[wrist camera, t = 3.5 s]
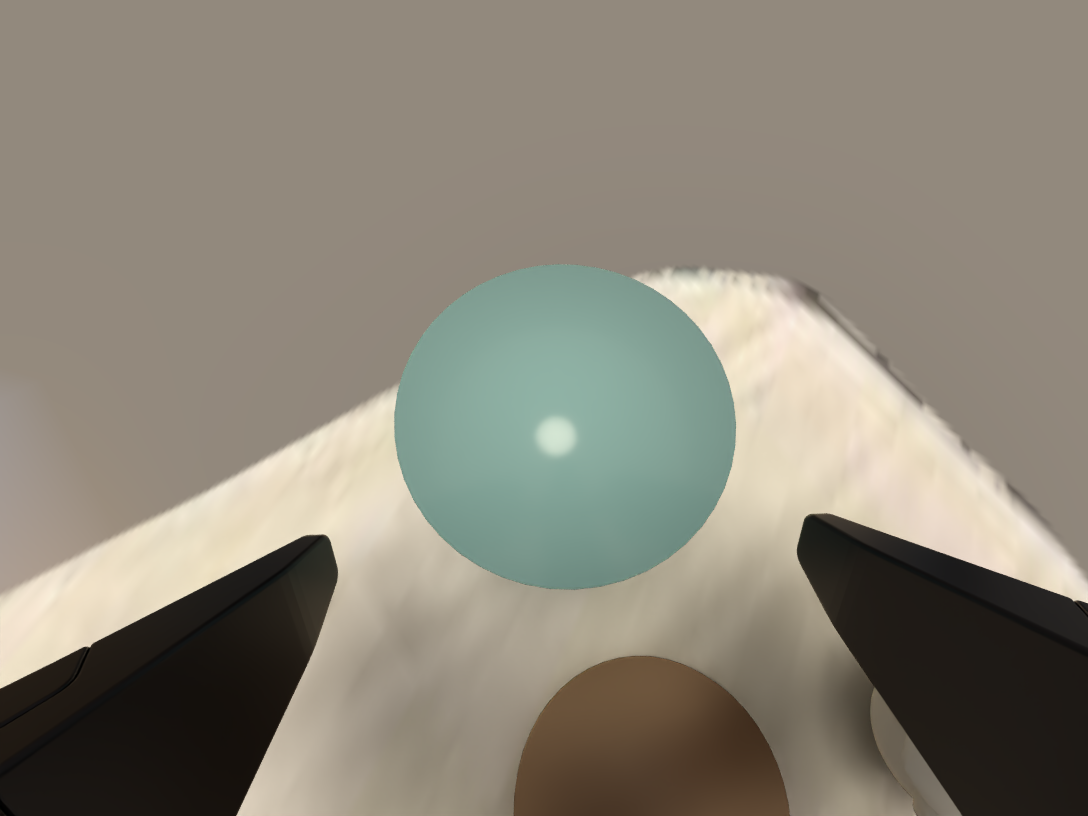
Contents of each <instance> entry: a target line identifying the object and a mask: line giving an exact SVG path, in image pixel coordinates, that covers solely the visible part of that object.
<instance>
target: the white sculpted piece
mask: <svg viewBox="0 0 1088 816" xmlns="http://www.w3.org/2000/svg"><path fill="white" fill-rule="evenodd" d="M870 718H871V725H872V730H873V735H874V738H875V741H876V744H877V747H878V749H879V751H880V753H881V755H882V757H883V759H884V761H885V763H886V765H887V766H888V768H889V770H890V771H891V772H892V774H893V775H894V777H895V778H896V780H897V781H898V782H899V783H900V785H901V786H902V787H903V788H904V789H905V790H906V791H907V793H908V794H909V795H910V796H911V797H912V798H913V807H914V811H915V813H916V815H917V816H962V815H961V813H960V812H959V811H958V809H957V808H956V806H955V805H954V803H953V802H952V800H951V799H950V797H949V796H948V794H947V793H946V791H945V790H944V788H943V787H942V785H941V784H940V782H939V781H938V780H937V778H936V777H935V775H934V774H933V772H932V771H931V769H930V768H929V766H928V765H927V763H926V762H925V760H924V759H923V757H922V756H921V754H920V753H919V752H918V750H917V749H916V747H915V746H914V744H913V743H912V741H911V740H910V738H909V737H908V735H907V734H906V732H905V731H904V729H903V728H902V726H901V725H900V724H899V722H898V721H897V719H896V718H895V716H894V715H893V713H892V712H891V710H890V709H889V707H888V706H887V704H886V703H885V701H884V700H883V698H882V697H881V696H880V694H879V693H878V691H877V690H876V688H875V687H874V690H873V693H872V697H871V706H870Z"/></svg>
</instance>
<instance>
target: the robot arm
mask: <svg viewBox="0 0 1088 816" xmlns="http://www.w3.org/2000/svg"><path fill="white" fill-rule="evenodd" d="M797 556H798V560H799V563H800V565H801V567H802V568H803V570H804V572H805V574H806V576H807V578H808V580H809V582H810V583H811V585H812V587H813V589H814V591H815V593H816V595H817V597H818V598H819V600H820V602H821V604H822V606H823V608H824V610H825V611H826V613H827V615H828V617H829V619H830V620H831V622H832V624H833V626H834V627H835V629H836V630H837V632H838V633H839V635H840V637H841V638H842V640H843V641H844V643H845V644H846V645H847V647H848V648H849V650H850V651H851V653H852V654H853V656H854V657H855V659H856V660H857V662H858V663H859V665H860V666H861V668H862V669H863V671H864V672H865V673H866V675H867V676H868V678H869V679H870V681H871V682H872V684H873V685H874V687H875V688H876V690H877V691H878V693H879V694H880V696H881V697H882V698H883V700H884V701H885V703H886V704H887V706H888V707H889V709H890V710H891V712H892V713H893V715H894V716H895V718H896V719H897V721H898V722H899V724H900V725H901V726H902V728H903V729H904V731H905V732H906V734H907V735H908V737H909V738H910V740H911V741H912V743H913V744H914V746H915V747H916V749H917V750H918V752H919V753H920V754H921V756H922V757H923V759H924V760H925V762H926V763H927V765H928V766H929V768H930V769H931V771H932V772H933V774H934V775H935V777H936V778H937V780H938V781H939V782H940V784H941V785H942V787H943V788H944V790H945V791H946V793H947V794H948V796H949V797H950V799H951V800H952V802H953V803H954V805H955V806H956V808H957V809H958V811H959V812H960V813H961V815H962V816H1088V603H1085V602H1082V601H1078V600H1077V601H1073V600H1072V599H1070V598H1068V597H1065V596H1063V595H1060V594H1057V593H1054V592H1051V591H1048V590H1045V589H1043V588H1040V587H1037V586H1034V585H1031V584H1028V583H1026V582H1023V581H1020V580H1017V579H1014V578H1011V577H1008V576H1006V575H1003V574H1000V573H997V572H994V571H991V570H989V569H986V568H983V567H980V566H977V565H974V564H972V563H969V562H966V561H963V560H960V559H957V558H954V557H952V556H949V555H946V554H943V553H940V552H937V551H935V550H932V549H929V548H926V547H923V546H920V545H917V544H915V543H912V542H909V541H906V540H903V539H900V538H898V537H895V536H892V535H889V534H886V533H883V532H881V531H878V530H875V529H872V528H869V527H866V526H863V525H861V524H858V523H855V522H852V521H849V520H846V519H844V518H841V517H838V516H835V515H832V514H827V513H824V514H809V515H808V516H806V518H805V519H804V522H803V526H802V530H801V534H800V538H799V542H798V546H797ZM337 578H338V568H337V564H336V560H335V557H334V553H333V549H332V546H331V542H330V539H329V538H328V536H326V535H306V536H303V537H301V538H299V539H297V540H295V541H293V542H291V543H289V544H287V545H285V546H283V547H281V548H279V549H277V550H275V551H273V552H271V553H269V554H267V555H265V556H264V557H262V558H260V559H258V560H256V561H254V562H252V563H250V564H248V565H246V566H244V567H242V568H240V569H238V570H236V571H234V572H232V573H230V574H228V575H226V576H224V577H222V578H220V579H218V580H216V581H214V582H212V583H211V584H209V585H207V586H205V587H203V588H201V589H199V590H197V591H195V592H193V593H191V594H189V595H187V596H185V597H183V598H181V599H179V600H177V601H175V602H173V603H171V604H169V605H167V606H165V607H163V608H161V609H160V610H158V611H156V612H154V613H152V614H150V615H148V616H146V617H144V618H142V619H140V620H138V621H136V622H134V623H132V624H130V625H128V626H126V627H124V628H122V629H120V630H118V631H116V632H114V633H112V634H110V635H108V636H107V637H105V638H103V639H101V640H99V641H97V642H95V643H93V644H92V645H91V647H90V648H89V647H83V648H81V649H79V650H77V651H75V652H73V653H71V654H69V655H67V656H65V657H63V658H61V659H59V660H57V661H56V662H54V663H51V664H49V665H47V666H45V667H43V668H41V669H39V670H37V671H35V672H33V673H31V674H29V675H27V676H25V677H23V678H21V679H19V680H17V681H15V682H13V683H11V684H9V685H7V686H5V687H3V688H1V689H0V816H236V815H237V813H238V811H239V809H240V807H241V805H242V803H243V800H244V798H245V796H246V794H247V792H248V790H249V788H250V786H251V783H252V781H253V779H254V777H255V775H256V773H257V771H258V769H259V766H260V764H261V762H262V760H263V758H264V756H265V754H266V752H267V749H268V747H269V745H270V743H271V741H272V739H273V737H274V734H275V732H276V730H277V728H278V726H279V724H280V722H281V720H282V717H283V715H284V713H285V711H286V709H287V707H288V705H289V703H290V700H291V698H292V696H293V694H294V692H295V690H296V688H297V686H298V683H299V681H300V679H301V677H302V675H303V673H304V671H305V668H306V666H307V664H308V662H309V660H310V657H311V655H312V653H313V651H314V648H315V645H316V643H317V640H318V637H319V634H320V631H321V628H322V625H323V622H324V619H325V616H326V613H327V610H328V607H329V604H330V601H331V598H332V595H333V592H334V589H335V586H336V583H337Z"/></svg>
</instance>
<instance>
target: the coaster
mask: <svg viewBox="0 0 1088 816" xmlns="http://www.w3.org/2000/svg"><path fill="white" fill-rule="evenodd" d="M514 816H790V814H789V805H788V800H787V796H786V791H785V787H784V782H783V780H782V777H781V774H780V771H779V768H778V765H777V762H776V760H775V758H774V755H773V753H772V751H771V749H770V747H769V744H768V743H767V741H766V739H765V738H764V736H763V734H762V732H761V731H760V729H759V727H758V726H757V724H756V723H755V722H754V720H753V719H752V718H751V716H750V715H749V714H748V713H747V711H746V710H745V709H744V708H743V707H742V706H741V705H740V704H739V703H738V701H737V700H736V699H735V698H734V697H733V696H732V695H731V694H729V693H728V692H727V691H726V690H724V689H723V688H722V687H721V686H720V685H718V684H717V683H716V682H714V681H712V680H711V679H709V678H708V677H706V676H705V675H703V674H701V673H699V672H698V671H696V670H693V669H691V668H689V667H687V666H685V665H683V664H680V663H677V662H674V661H671V660H667V659H662V658H656V657H651V656H631V657H623V658H617V659H613V660H610V661H606V662H603V663H600V664H598V665H596V666H593V667H591V668H589V669H587V670H586V671H584V672H582V673H581V674H579V675H577V676H576V677H574V678H573V679H572V680H571V681H569V682H568V683H567V684H566V685H565V686H563V687H562V688H561V689H560V690H559V691H558V692H557V694H556V695H555V696H554V697H553V698H552V699H551V700H550V701H549V703H548V704H547V705H546V707H545V708H544V710H543V711H542V713H541V714H540V715H539V717H538V719H537V721H536V723H535V725H534V726H533V728H532V730H531V732H530V734H529V737H528V740H527V742H526V745H525V747H524V750H523V753H522V757H521V761H520V765H519V769H518V774H517V781H516V788H515V796H514Z"/></svg>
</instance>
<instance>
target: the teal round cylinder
mask: <svg viewBox="0 0 1088 816" xmlns="http://www.w3.org/2000/svg"><path fill="white" fill-rule="evenodd" d="M394 422H395V442H396V449H397V456H398V460H399V464H400V467H401V470H402V474H403V477H404V480H405V482H406V484H407V487H408V489H409V491H410V493H411V495H412V498H413V500H414V501H415V503H416V505H417V506H418V508H419V509H420V511H421V512H422V514H423V516H424V517H425V519H426V520H427V521H428V522H429V523H430V525H431V526H432V527H433V528H434V529H435V530H436V532H437V533H438V534H439V535H440V536H441V537H442V538H443V539H444V540H445V541H446V542H447V543H448V544H450V545H451V546H452V547H453V548H454V549H455V550H456V551H457V552H459V553H460V554H461V555H463V556H464V557H466V558H468V559H469V560H471V561H472V562H474V563H475V564H477V565H478V566H480V567H482V568H484V569H486V570H488V571H490V572H492V573H494V574H496V575H499V576H501V577H503V578H506V579H510V580H513V581H516V582H519V583H522V584H525V585H531V586H537V587H543V588H549V589H584V588H593V587H601V586H605V585H608V584H612V583H616V582H620V581H624V580H626V579H629V578H631V577H634V576H636V575H638V574H641V573H643V572H646V571H648V570H649V569H651V568H653V567H654V566H656V565H658V564H659V563H661V562H663V561H665V560H666V559H668V558H669V557H670V556H671V555H673V554H674V553H675V552H676V551H678V550H679V549H680V548H681V547H683V546H684V545H685V544H686V543H687V542H688V541H689V540H690V539H691V538H692V537H693V536H694V535H695V533H696V532H697V531H698V530H699V529H700V528H701V527H702V526H703V524H704V523H705V521H706V520H707V518H708V517H709V515H710V514H711V513H712V511H713V510H714V508H715V506H716V504H717V502H718V500H719V498H720V496H721V494H722V492H723V490H724V488H725V485H726V482H727V479H728V476H729V473H730V470H731V467H732V461H733V455H734V450H735V437H736V420H735V410H734V402H733V398H732V394H731V390H730V385H729V382H728V379H727V377H726V374H725V372H724V369H723V366H722V364H721V362H720V360H719V358H718V356H717V354H716V353H715V351H714V349H713V347H712V345H711V344H710V342H709V341H708V340H707V338H706V337H705V335H704V334H703V333H702V331H701V330H700V329H699V327H698V326H697V325H696V324H695V323H694V322H693V321H692V320H691V319H690V318H689V317H688V316H687V314H686V313H684V312H683V311H682V310H681V309H680V308H679V307H677V306H676V305H675V304H674V303H673V302H672V301H670V300H669V299H667V298H666V297H664V296H663V295H661V294H660V293H658V292H657V291H655V290H654V289H652V288H650V287H648V286H646V285H644V284H643V283H641V282H639V281H637V280H635V279H632V278H629V277H627V276H624V275H621V274H619V273H615V272H611V271H608V270H604V269H600V268H595V267H588V266H580V265H560V264H557V265H545V266H536V267H530V268H525V269H520V270H516V271H513V272H510V273H507V274H504V275H501V276H498V277H496V278H494V279H491V280H489V281H487V282H485V283H483V284H480V285H479V286H477V287H475V288H474V289H472V290H470V291H469V292H467V293H465V294H464V295H462V296H461V297H460V298H459V299H457V300H456V301H455V302H453V303H452V304H451V305H450V306H448V307H447V308H446V309H445V310H444V311H443V312H442V313H441V314H440V315H439V316H438V317H437V318H436V319H435V320H434V321H433V323H432V324H431V325H430V327H429V328H428V329H427V330H426V331H425V333H424V334H423V335H422V337H421V338H420V340H419V342H418V343H417V345H416V347H415V349H414V350H413V352H412V353H411V355H410V358H409V360H408V362H407V365H406V367H405V369H404V372H403V375H402V378H401V382H400V385H399V389H398V393H397V399H396V407H395V414H394Z"/></svg>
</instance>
